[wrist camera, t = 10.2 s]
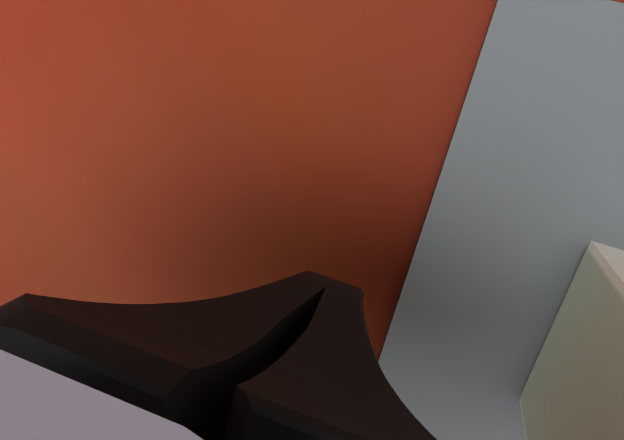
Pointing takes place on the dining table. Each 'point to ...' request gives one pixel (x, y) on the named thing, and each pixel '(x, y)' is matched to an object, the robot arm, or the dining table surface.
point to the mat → (512, 215)
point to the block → (582, 358)
